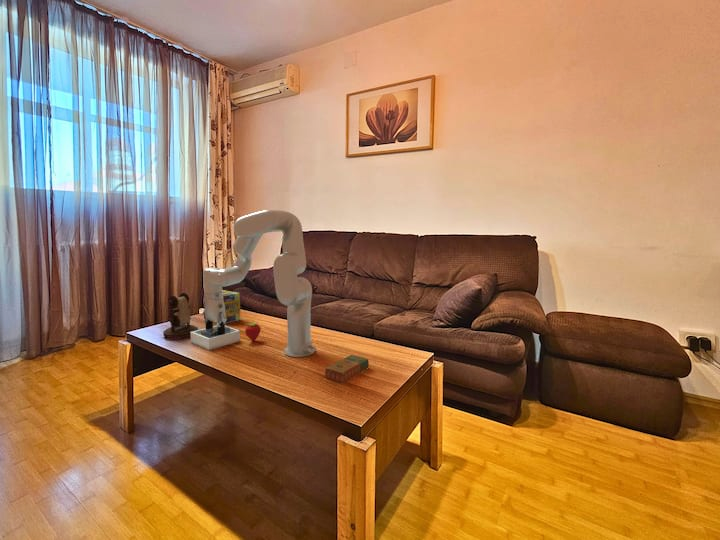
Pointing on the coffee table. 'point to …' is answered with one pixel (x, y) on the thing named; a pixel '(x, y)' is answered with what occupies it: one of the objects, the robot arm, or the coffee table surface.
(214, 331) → the block
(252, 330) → the strawberry
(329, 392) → the coffee table surface
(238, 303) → the protein box
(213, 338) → the tote
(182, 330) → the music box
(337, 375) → the carton
